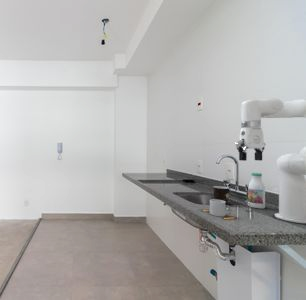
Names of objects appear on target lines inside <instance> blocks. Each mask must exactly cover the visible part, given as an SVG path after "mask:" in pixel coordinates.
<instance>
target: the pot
mask: <svg viewBox="0 0 306 300" xmlns="http://www.w3.org/2000/svg"><path fill="white" fill-rule="evenodd" d="M226 206H227V204H226V202H225V201H223V200H216V199H215V198H213V199H211V198H210V199H209V210H210V211H209V214H210V215H212V216H215V217H226V214H227V213H226V211H227V209H226V208H227V207H226Z"/></svg>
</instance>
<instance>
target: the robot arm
mask: <svg viewBox="0 0 306 300" xmlns="http://www.w3.org/2000/svg"><path fill="white" fill-rule="evenodd" d="M276 118H277V119H280V118H281V119H282V118H283V119H285V118H288V119H289V118H293V119H294V118H306V98H305V99H304V98H303V99H301V98H300V99H294V100H288V101H283V100H281V99H280V98H266V99H247V100H244V101H242V103H241V105H240V133H239V137H238V139H239V140H238V141H237V142H235V147H236V150H237V153H238V161H241V162H243V161H244V162H245V161H247V159H248V158H247V153H248V152H247V150H248V149H253V150H254V151H255V152H254V161H260V162H261V161H263V153H264V151H265V147H266V145H267V144H266V142H265V138H264V131H263V128H262V119H276ZM275 164H276V169H277V173H278V212H277V213H274V217H275V218H276V219H278V220H282V221H285V222H290V223H296V224H306V177H305V176H306V146H304V147H303V148H302V149H301V150H299V153H287V154H285V153H284V154H283V155H280V156H279V157H278V158H277V160H276V163H275Z"/></svg>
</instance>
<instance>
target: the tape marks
mask: <svg viewBox="0 0 306 300" xmlns="http://www.w3.org/2000/svg"><path fill="white" fill-rule="evenodd" d="M201 212H210V209H203V210H202V211H201ZM223 219H224V220H233V219H235V220H236V217H233V216H232V217H223Z"/></svg>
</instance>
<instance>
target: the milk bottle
mask: <svg viewBox="0 0 306 300" xmlns="http://www.w3.org/2000/svg"><path fill="white" fill-rule="evenodd" d="M262 176H263V174H262V173H261V172H251V180H250V182H249V183H248V187H247V206H248V207H249V208H254V209H265V208H266V186H265V184H264V182H263V180H262ZM249 203H250V205H251V206H250V205H249Z"/></svg>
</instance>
